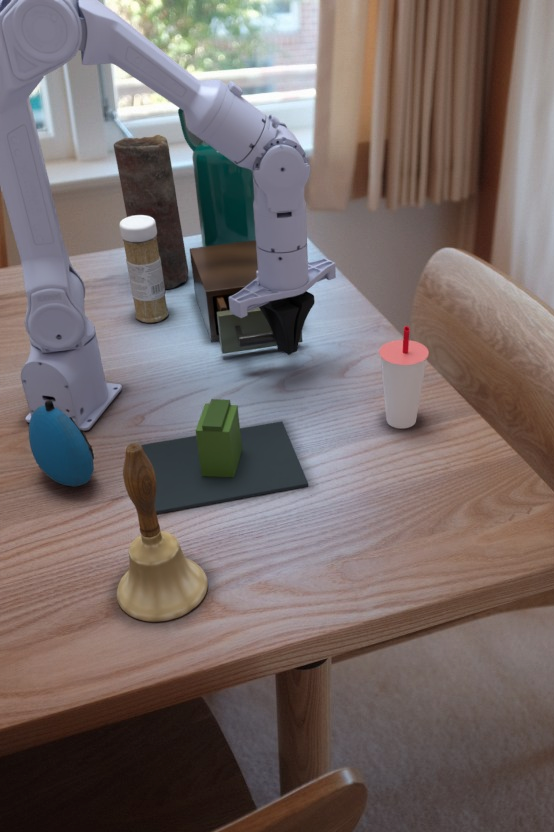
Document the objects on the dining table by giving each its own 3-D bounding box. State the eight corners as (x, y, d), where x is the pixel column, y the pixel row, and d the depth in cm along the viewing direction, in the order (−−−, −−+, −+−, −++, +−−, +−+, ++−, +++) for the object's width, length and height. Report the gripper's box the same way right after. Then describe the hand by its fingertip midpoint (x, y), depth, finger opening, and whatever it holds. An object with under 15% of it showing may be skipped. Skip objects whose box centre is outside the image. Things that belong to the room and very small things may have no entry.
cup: (427, 432, 102) (433, 337, 94) (379, 434, 102) (381, 339, 94) (421, 406, 106) (426, 313, 98) (376, 408, 106) (377, 315, 98)
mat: (308, 486, 95) (308, 483, 94) (155, 514, 91) (154, 511, 91) (282, 424, 104) (282, 421, 103) (141, 447, 100) (141, 444, 100)
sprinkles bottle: (158, 305, 126) (143, 210, 118) (175, 317, 124) (161, 221, 115) (129, 315, 124) (112, 219, 115) (145, 327, 121) (129, 230, 113)
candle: (127, 286, 131) (102, 144, 118) (150, 265, 136) (128, 127, 123) (176, 293, 129) (156, 149, 116) (197, 271, 134) (180, 131, 122)
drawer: (310, 358, 113) (309, 319, 110) (228, 370, 111) (224, 332, 108) (280, 299, 125) (278, 263, 122) (206, 309, 123) (201, 273, 120)
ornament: (112, 483, 95) (95, 403, 89) (78, 506, 93) (58, 425, 86) (61, 455, 99) (41, 377, 93) (27, 476, 96) (3, 396, 90)
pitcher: (267, 245, 141) (258, 95, 127) (256, 268, 135) (244, 113, 121) (206, 242, 142) (190, 93, 128) (192, 265, 136) (173, 111, 122)
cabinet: (297, 329, 121) (295, 279, 116) (211, 341, 118) (205, 291, 114) (275, 285, 131) (272, 237, 126) (195, 296, 128) (189, 248, 124)
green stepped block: (234, 477, 95) (228, 426, 91) (201, 476, 96) (194, 425, 91) (242, 450, 99) (237, 399, 95) (210, 448, 99) (204, 398, 95)
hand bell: (100, 611, 81) (63, 469, 71) (142, 551, 87) (114, 412, 77) (185, 631, 79) (159, 488, 69) (222, 568, 85) (203, 428, 75)
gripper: (306, 214, 107) (310, 318, 116) (207, 251, 99) (219, 359, 108) (347, 231, 103) (348, 338, 112) (248, 271, 95) (257, 381, 104)
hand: (287, 350), depth 110 cm, fingers closed
